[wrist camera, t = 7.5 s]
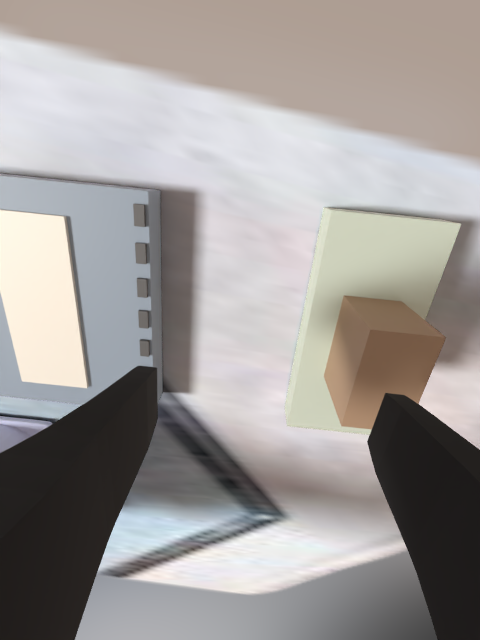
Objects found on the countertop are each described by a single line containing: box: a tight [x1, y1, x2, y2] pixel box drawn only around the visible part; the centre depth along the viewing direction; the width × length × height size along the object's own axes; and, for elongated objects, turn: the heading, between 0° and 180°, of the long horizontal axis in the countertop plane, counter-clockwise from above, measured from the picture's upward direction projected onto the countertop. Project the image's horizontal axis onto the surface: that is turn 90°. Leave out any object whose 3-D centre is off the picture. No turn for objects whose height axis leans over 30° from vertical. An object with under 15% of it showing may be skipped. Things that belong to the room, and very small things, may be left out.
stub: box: [285, 207, 461, 435], centre depth 16 cm, size 13×6×6 cm, turn 175°
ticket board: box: [0, 173, 163, 405], centre depth 18 cm, size 13×10×2 cm
